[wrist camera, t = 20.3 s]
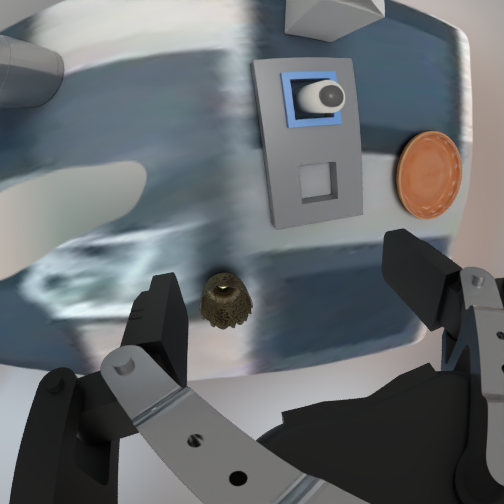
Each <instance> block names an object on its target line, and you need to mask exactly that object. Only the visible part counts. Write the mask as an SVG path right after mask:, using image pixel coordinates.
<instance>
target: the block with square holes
mask: <svg viewBox="0 0 504 504" xmlns="http://www.w3.org/2000/svg"><path fill="white" fill-rule="evenodd" d="M251 70H252V77H253V83H254V90H255V97H256V104H257V111H258V118H259V125H260V132H261V139H262V146H263V154H264V161H265V169H266V177H267V185H268V193H269V201H270V209H271V217H272V224H273V226H274V228H275V229H276V230H279V229H284V228H290V227H296V226H301V225H307V224H313V223H318V222H324V221H330V220H336V219H341V218H347V217H353V216H359V215H363V186H362V157H361V140H360V126H359V115H358V104H357V95H356V87H355V79H354V71H353V64H352V59H351V58H322V57H306V58H277V59H263V60H253V61H252V63H251ZM324 80H332V81H335V82H336V83H338V84H339V85H340V86H341V87H342V89H343V90H344V93H345V103H344V105H343V107H342V108H341V109H340V110H339V111H337V112H334V113H325V117H317V118H304V119H295V113H294V105H293V98H292V90H291V83H290V82H295V81H324ZM326 162H330V176H331V193H332V194H331V195H324V196H317V197H310V198H304V199H302V196H301V184H300V174H299V166H301V165H309V164H318V163H326Z"/></svg>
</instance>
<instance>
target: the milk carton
mask: <svg viewBox="0 0 504 504" xmlns="http://www.w3.org/2000/svg"><path fill="white" fill-rule="evenodd" d="M384 17H385V8H384V0H286V11H285V30H284V33H285V34H290V35H296V36H302V37H307V38H313V39H318V40H322V41H327V42H333V41H335V40H337V39H339V38H341V37H343V36H345V35H347V34H349V33H351V32H353V31H355V30H357V29H359V28H361V27H364V26H366V25H368V24H370V23H372V22H375V21H377V20H379V19H382V18H384Z"/></svg>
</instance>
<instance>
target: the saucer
mask: <svg viewBox="0 0 504 504" xmlns="http://www.w3.org/2000/svg"><path fill="white" fill-rule="evenodd" d="M461 180H462V162H461V158H460V154H459V152H458V149H457V147H456V146H455V144H454V143H453V141H452V140H451V139H450V138H449V137H448V136H446V135H445V134H443V133H441V132H437V131H426V132H422V133H420V134H418V135H416V136H415V137H414V138H412V139H411V140H410V141H409V142H408V144H407V145H406V146H405V148H404V150H403V152H402V154H401V156H400V159H399V162H398V167H397V175H396V182H397V190H398V194H399V197H400V200H401V202H402V204H403V205H404V207H405V208H406V209H407V210H408V211H409V212H410V213H411V214H412V215H413V216H415V217H417V218H420V219H433V218H436V217H438V216H440V215H441V214H443V213H444V212H445V211H446V210H447V209H448V208H449V207H450V206H451V204H452V203H453V201H454V200H455V198H456V196H457V194H458V191H459V188H460V185H461Z"/></svg>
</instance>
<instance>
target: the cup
mask: <svg viewBox="0 0 504 504" xmlns="http://www.w3.org/2000/svg"><path fill="white" fill-rule="evenodd" d="M252 307H253V303H252V300H251V297H250V296H249V294H248V291H247V289H246V287H245V285H244V284H243V282H242V281H241V280H240V279H239V278H238V277H237V276H235V275H233V274H230V273H227V272H220V273H218V274H216V275H214V276H212V277H211V278H210V279H209V280H208V281H207V282H206V284H205V286H204V289H203V292H202V297H201V302H200V307H199V311H200V313H201V316H202V319H203V320H204V319H205V318H206V319H207V320H209V321H210V323H211V326H212V327H215V326H217V327H218V328H220V329H223V330H224V329H226V328H227V327H228V326H231V327H232V328H235V325H236V322H237V324H239V325H242V324H243V322H244V321H247V317H248V314H251V308H252Z"/></svg>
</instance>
